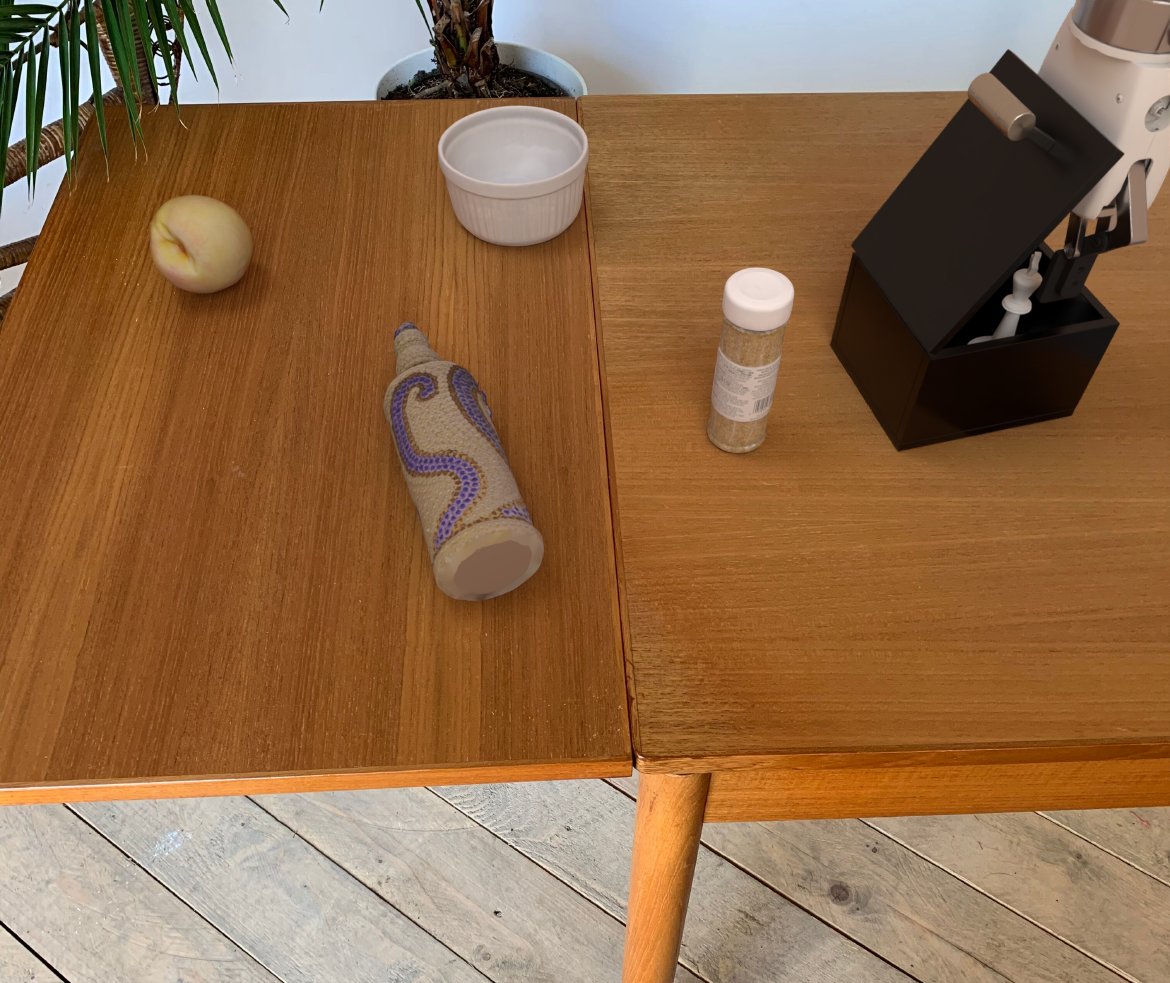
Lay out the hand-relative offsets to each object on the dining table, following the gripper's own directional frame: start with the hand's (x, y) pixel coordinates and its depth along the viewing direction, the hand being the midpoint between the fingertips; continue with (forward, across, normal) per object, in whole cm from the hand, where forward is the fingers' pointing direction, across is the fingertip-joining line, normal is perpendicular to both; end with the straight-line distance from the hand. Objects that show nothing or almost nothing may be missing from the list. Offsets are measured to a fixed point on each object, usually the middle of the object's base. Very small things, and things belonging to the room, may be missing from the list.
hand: (1034, 269), depth 73 cm
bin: (+9, 0, +4) cm, 10 cm away
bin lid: (-6, 0, +7) cm, 9 cm away
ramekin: (+10, +31, +32) cm, 45 cm away
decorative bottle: (+10, 0, +43) cm, 44 cm away
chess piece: (+9, 0, 0) cm, 9 cm away
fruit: (+10, +27, +59) cm, 66 cm away
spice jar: (+10, -1, +22) cm, 24 cm away
